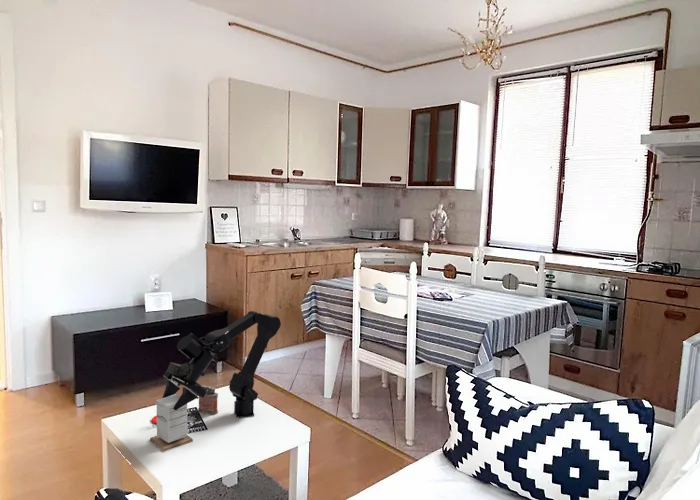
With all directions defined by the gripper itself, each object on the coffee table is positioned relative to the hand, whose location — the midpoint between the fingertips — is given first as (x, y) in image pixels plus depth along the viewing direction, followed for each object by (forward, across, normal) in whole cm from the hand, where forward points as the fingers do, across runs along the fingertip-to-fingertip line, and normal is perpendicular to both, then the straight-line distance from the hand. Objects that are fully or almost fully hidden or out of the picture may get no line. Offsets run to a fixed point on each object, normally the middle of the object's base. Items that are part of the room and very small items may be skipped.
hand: (168, 406), depth 163 cm
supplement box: (+7, 0, +9) cm, 11 cm away
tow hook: (+4, -16, +14) cm, 22 cm away
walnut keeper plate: (+8, 0, +9) cm, 12 cm away
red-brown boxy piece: (-7, -11, +25) cm, 28 cm away
